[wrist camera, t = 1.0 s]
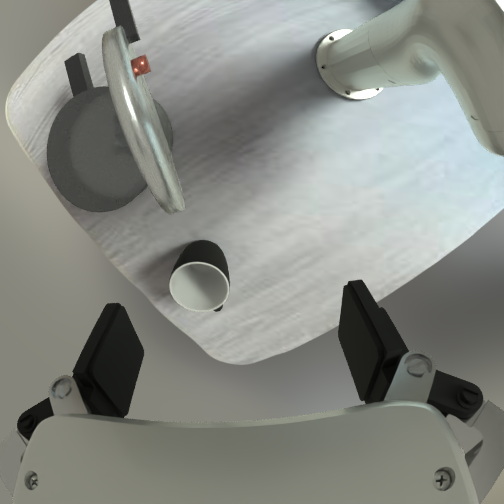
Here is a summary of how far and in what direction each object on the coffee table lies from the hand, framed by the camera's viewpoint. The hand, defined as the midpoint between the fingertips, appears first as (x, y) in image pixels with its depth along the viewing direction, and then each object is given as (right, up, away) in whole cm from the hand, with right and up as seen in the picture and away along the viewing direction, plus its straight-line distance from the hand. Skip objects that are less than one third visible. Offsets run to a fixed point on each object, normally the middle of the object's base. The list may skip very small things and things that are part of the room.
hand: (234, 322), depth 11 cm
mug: (-7, +1, +39) cm, 40 cm away
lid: (-10, +16, +9) cm, 21 cm away
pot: (-21, +23, +27) cm, 41 cm away
